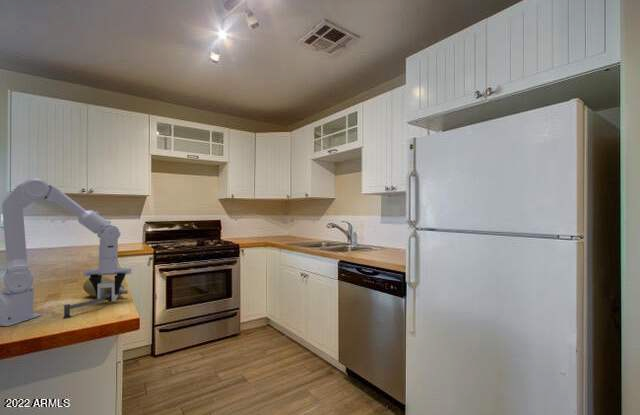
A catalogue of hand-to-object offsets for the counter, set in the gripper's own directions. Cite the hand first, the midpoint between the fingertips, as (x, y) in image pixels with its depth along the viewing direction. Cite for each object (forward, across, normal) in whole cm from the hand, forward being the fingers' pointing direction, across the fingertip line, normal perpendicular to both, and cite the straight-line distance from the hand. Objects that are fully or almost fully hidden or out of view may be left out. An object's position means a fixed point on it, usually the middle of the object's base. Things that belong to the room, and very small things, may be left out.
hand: (107, 294), depth 112 cm
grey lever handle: (+3, +2, +6) cm, 7 cm away
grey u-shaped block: (+2, 0, 0) cm, 2 cm away
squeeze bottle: (-1, +10, -14) cm, 17 cm away
